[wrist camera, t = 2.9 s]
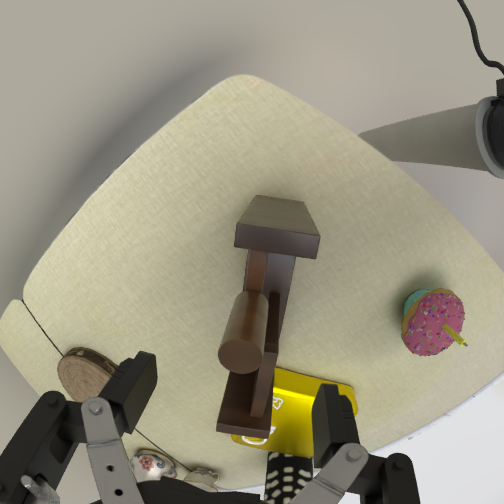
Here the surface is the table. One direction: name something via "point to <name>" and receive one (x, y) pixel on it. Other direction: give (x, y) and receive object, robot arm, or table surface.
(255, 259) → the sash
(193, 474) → the chinaware
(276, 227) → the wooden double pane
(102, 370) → the brown flat banded disc
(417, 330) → the cupcake
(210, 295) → the table surface
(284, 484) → the spotted tube
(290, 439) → the element tile
